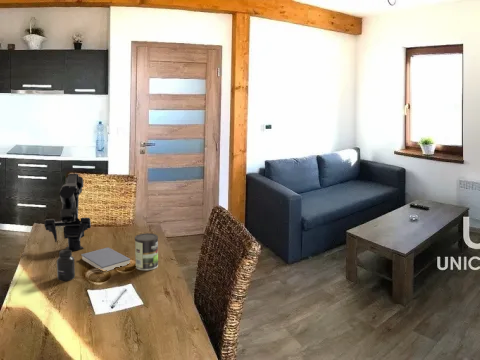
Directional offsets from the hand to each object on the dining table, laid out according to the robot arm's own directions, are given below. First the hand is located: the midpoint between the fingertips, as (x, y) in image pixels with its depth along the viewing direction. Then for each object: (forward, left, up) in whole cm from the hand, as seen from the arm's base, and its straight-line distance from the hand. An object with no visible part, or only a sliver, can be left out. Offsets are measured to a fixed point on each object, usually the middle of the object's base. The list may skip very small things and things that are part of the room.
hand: (67, 241), depth 182 cm
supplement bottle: (+7, -4, -14) cm, 16 cm away
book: (+2, +17, -14) cm, 22 cm away
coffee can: (+19, +28, -14) cm, 36 cm away
